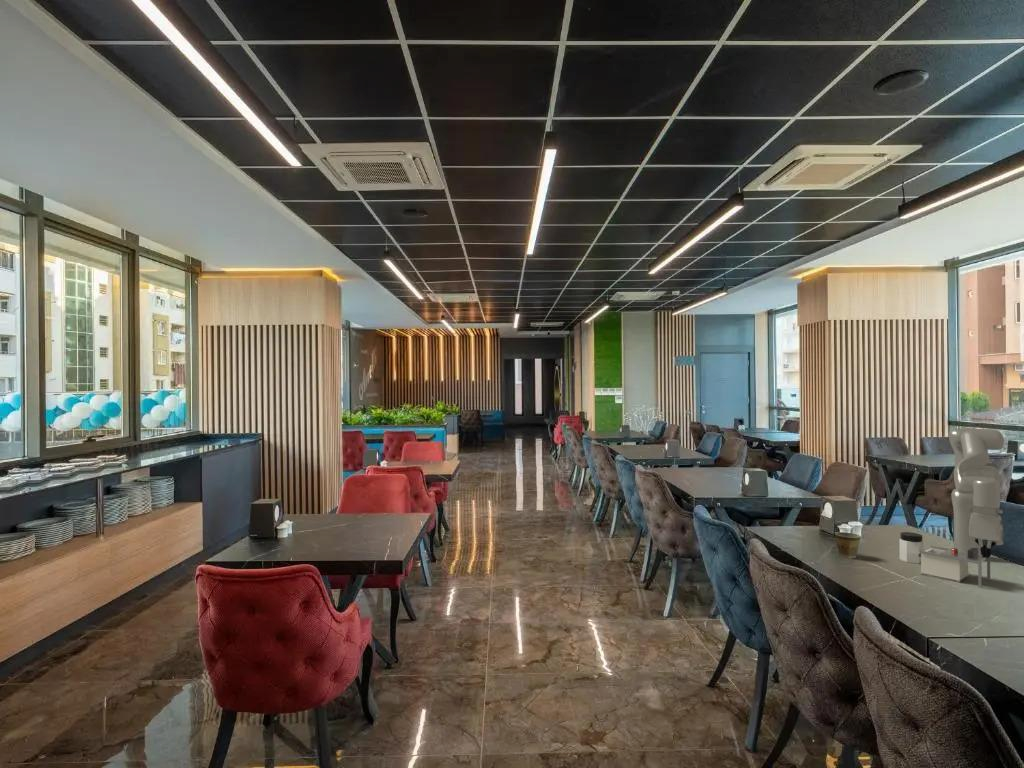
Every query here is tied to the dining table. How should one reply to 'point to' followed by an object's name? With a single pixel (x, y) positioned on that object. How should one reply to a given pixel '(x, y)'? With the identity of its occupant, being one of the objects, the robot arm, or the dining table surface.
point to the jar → (910, 547)
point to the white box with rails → (948, 566)
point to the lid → (965, 554)
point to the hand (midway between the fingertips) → (985, 557)
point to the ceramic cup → (847, 544)
